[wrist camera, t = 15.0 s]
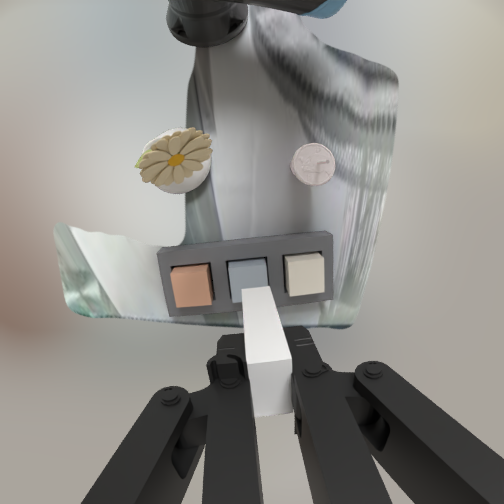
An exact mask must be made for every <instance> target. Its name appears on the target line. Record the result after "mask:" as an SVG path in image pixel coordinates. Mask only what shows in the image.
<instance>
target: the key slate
mask: <svg viewBox="0 0 504 504" xmlns="http://www.w3.org/2000/svg"><path fill="white" fill-rule="evenodd" d="M228 269H229V278H230V286H231V294H232V301H233V303H237V302H242V289H247V288H257V287H266V286H268V280H267V267H266V262H265V259H264V257H256V258H246V259H237V260H229V267H228Z"/></svg>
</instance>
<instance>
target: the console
mask: <svg viewBox="0 0 504 504" xmlns="http://www.w3.org/2000/svg"><path fill="white" fill-rule="evenodd" d="M313 251H317V252H318V253H319V254H320V255H321V256H322V257H323V258H324V292H322V293H314V294H307V295H299V296H291V297H290V296H289V293H288V291H287V289H286V287H285V284H284V278H283V261H282V255H285V254H294V253H304V252H313ZM157 257H158V263H159V268H160V274H161V279H162V284H163V289H164V294H165V299H166V303H167V308H168V312H169V317H172V316H186V315H200V314H212V313H223V312H234V311H243V305H242V302H237V303H233V301H232V294H231V290H230V282H229V274H228V266H227V260H237V259H246V258H256V257H265V258H266V267H267V280H268V286H270V289H271V292H272V295H273V298H274V302H275V305H276V307H280V306H288V305H296V304H304V303H311V302H318V301H325V300H332V299H333V235H332V234H330V233H328V232H327V231H318V232H307V233H297V234H287V235H276V236H266V237H256V238H246V239H237V240H227V241H217V242H208V243H199V244H189V245H180V246H171V247H162V248H161V249H160V250H159V251H158V252H157ZM207 262H211V269H212V276H213V283H214V290H215V292H214V294H213V300H212V305H204V306H192V307H179V308H177V307H176V302H175V297H174V292H173V287H172V281H171V276H170V274H171V272H172V270H173V269H174V267H175V266H177V265H187V264H197V263H207Z"/></svg>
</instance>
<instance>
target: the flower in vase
mask: <svg viewBox="0 0 504 504" xmlns="http://www.w3.org/2000/svg"><path fill="white" fill-rule="evenodd" d="M202 133H203V132H202V131H200V130H198V131H196V129H195V128H189V129H187V128H174V129H170V130H167V131H165V132H163V133H162V134H161V135H159V136H158V137H157V138H154V139H153V140H151V141H149V142H148V143H147V145H146V146H145V147H144V149H143V152H142V156H141V157H140V159H139V160H138V162H137V163H136V165H135V167H136V168H140V169H142V170H141V172H140V175H141V176H142V177H143V178H142V181H143V182H145V183H147V182H150V181H151V183H152V184H155V186H157V187H158V188H159V189H161V190H163V191H165V192H168V193H173V194H182V193H186V192H189V191H191V190H193V189H195V188H196V187H198V186H199V185H200V184H201V183H202V182H203V181H204V180H205V178H206V177H207V175H208V173H209V170H210V166H211V153H212V151H213V150H212V149H210V148H209V147H210V145H211V142H212V140H211V139H208V138H209V137H210V135H209V134H202Z"/></svg>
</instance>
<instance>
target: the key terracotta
mask: <svg viewBox="0 0 504 504" xmlns="http://www.w3.org/2000/svg"><path fill="white" fill-rule="evenodd" d="M170 276H171V281H172V287H173V292H174V297H175V302H176V307H177V308H179V307H192V306H204V305H212V300H213V294H214V292H213V286H212V279H211V272H210V264H209V262H207V263H197V264H187V265H177V266H175V267H174V269H173V270H172V272H171V274H170Z"/></svg>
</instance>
